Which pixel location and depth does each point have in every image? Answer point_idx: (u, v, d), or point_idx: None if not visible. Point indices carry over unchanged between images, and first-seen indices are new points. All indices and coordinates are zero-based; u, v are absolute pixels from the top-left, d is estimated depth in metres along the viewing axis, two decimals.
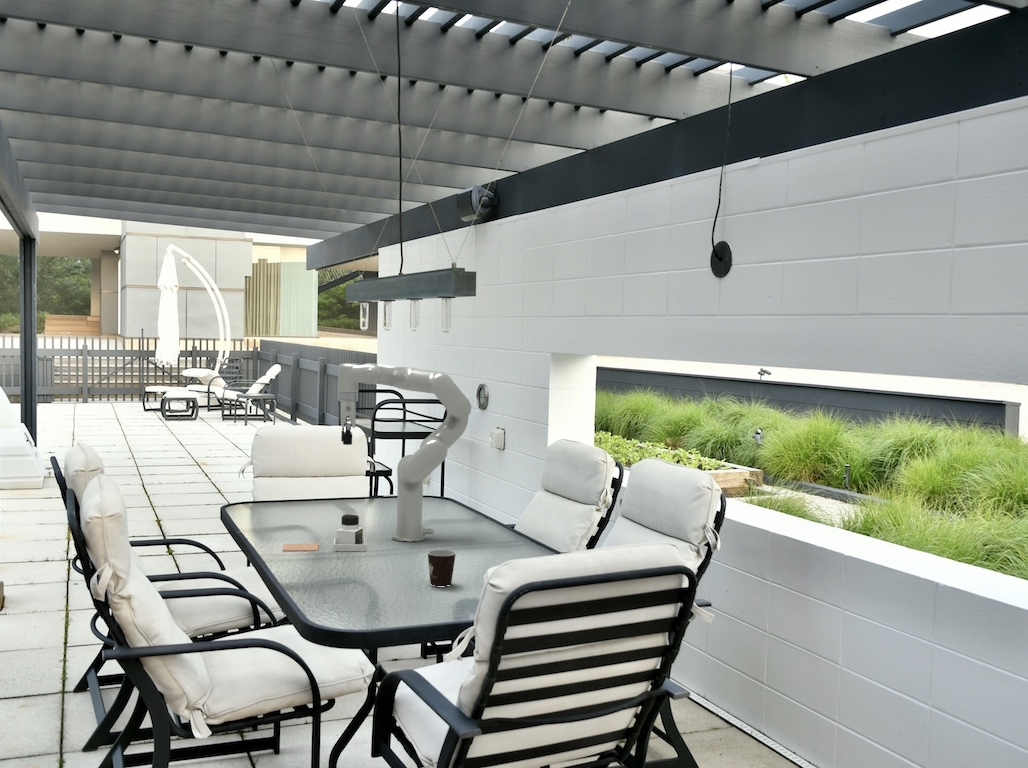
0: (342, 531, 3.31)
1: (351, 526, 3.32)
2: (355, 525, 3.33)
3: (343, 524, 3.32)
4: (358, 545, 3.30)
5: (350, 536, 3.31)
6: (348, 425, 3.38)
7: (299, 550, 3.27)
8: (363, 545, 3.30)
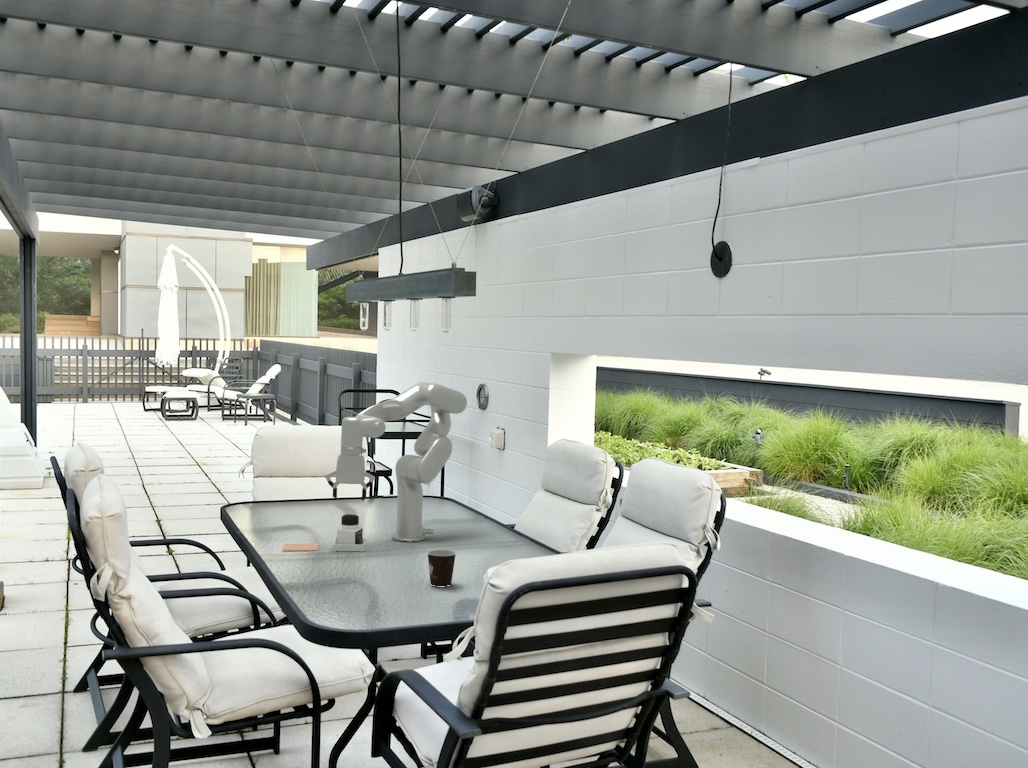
0: (342, 531, 3.31)
1: (351, 526, 3.32)
2: (355, 525, 3.33)
3: (343, 524, 3.32)
4: (358, 545, 3.30)
5: (350, 535, 3.31)
6: (373, 479, 3.35)
7: (299, 550, 3.27)
8: (363, 545, 3.30)
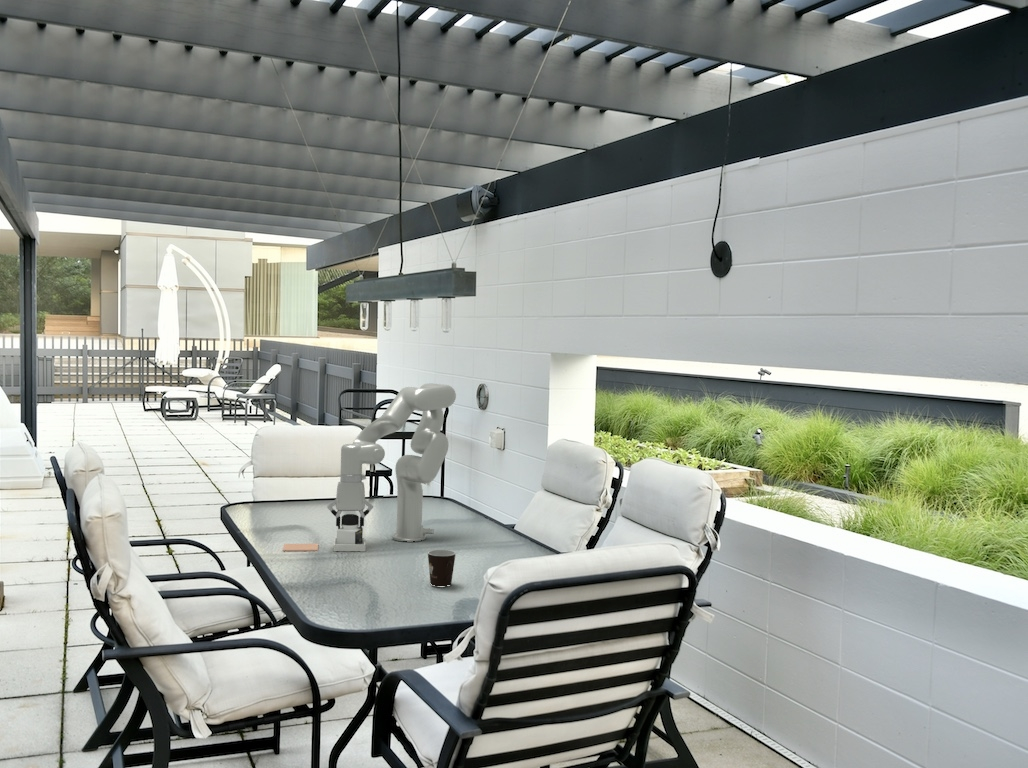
0: (342, 531, 3.31)
1: (351, 526, 3.32)
2: (355, 525, 3.33)
3: (343, 524, 3.32)
4: (358, 545, 3.30)
5: (350, 535, 3.31)
6: None
7: (299, 550, 3.27)
8: (363, 545, 3.30)
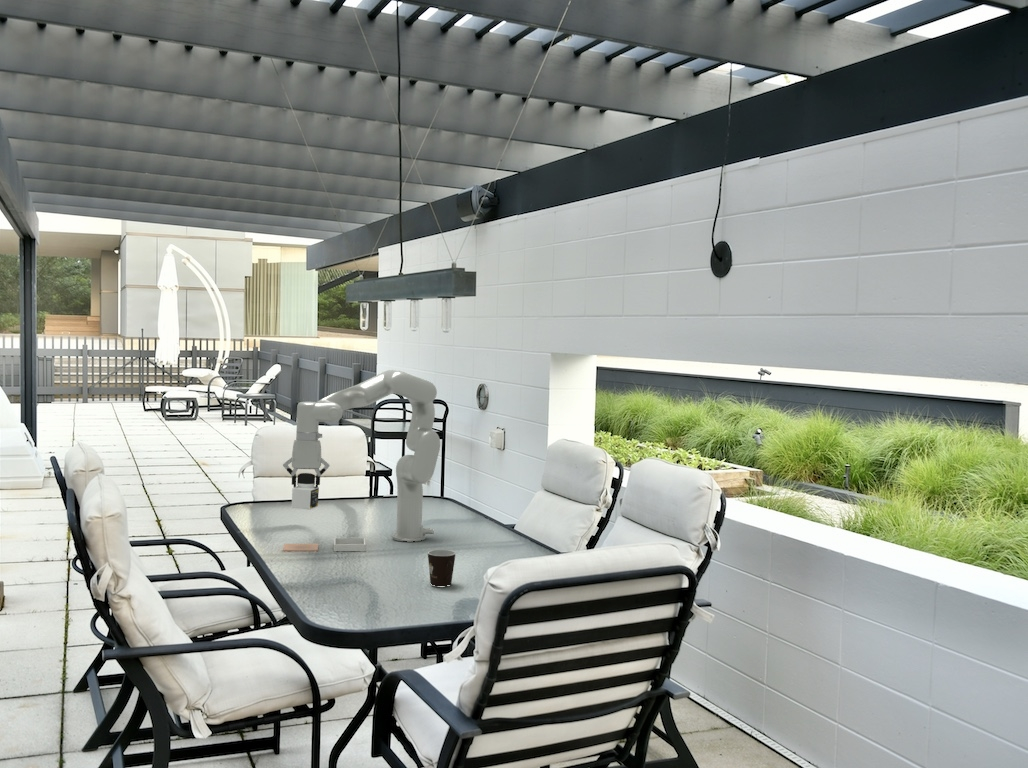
0: (298, 489, 3.28)
1: (307, 485, 3.28)
2: (311, 484, 3.29)
3: (299, 482, 3.29)
4: (358, 545, 3.30)
5: (305, 494, 3.27)
6: None
7: (299, 550, 3.27)
8: (363, 545, 3.30)
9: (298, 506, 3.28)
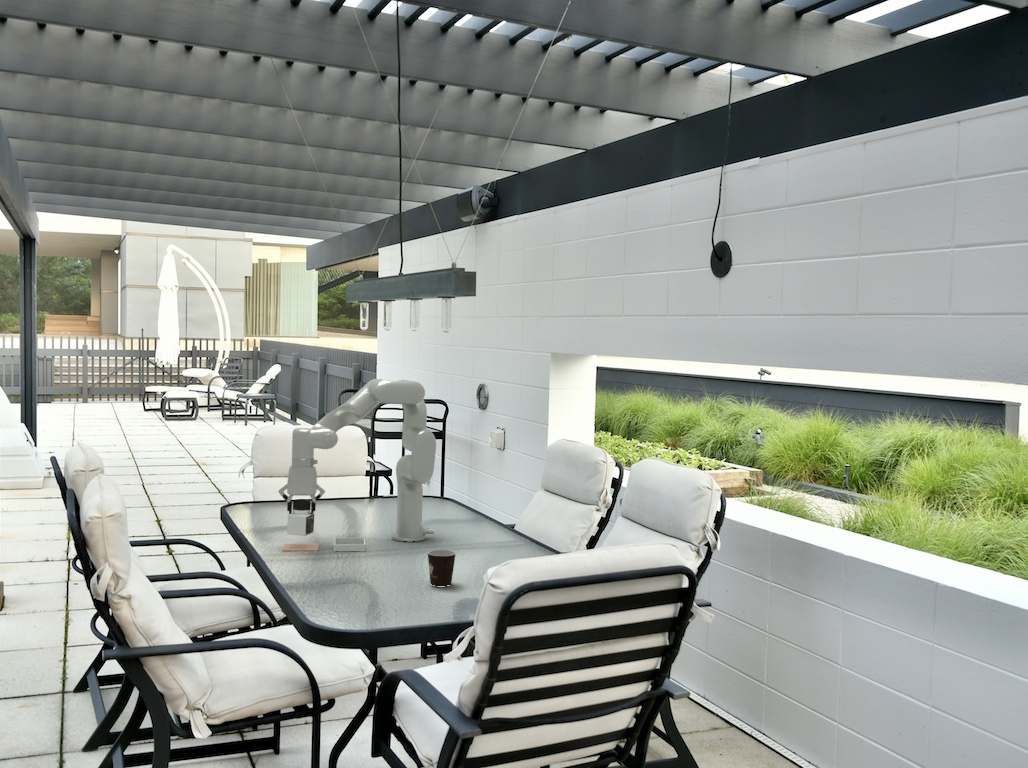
0: (293, 516, 3.28)
1: (302, 511, 3.29)
2: (306, 510, 3.29)
3: (294, 509, 3.29)
4: (358, 545, 3.30)
5: (301, 520, 3.28)
6: (323, 493, 3.32)
7: (299, 550, 3.27)
8: (363, 545, 3.30)
9: (293, 532, 3.28)
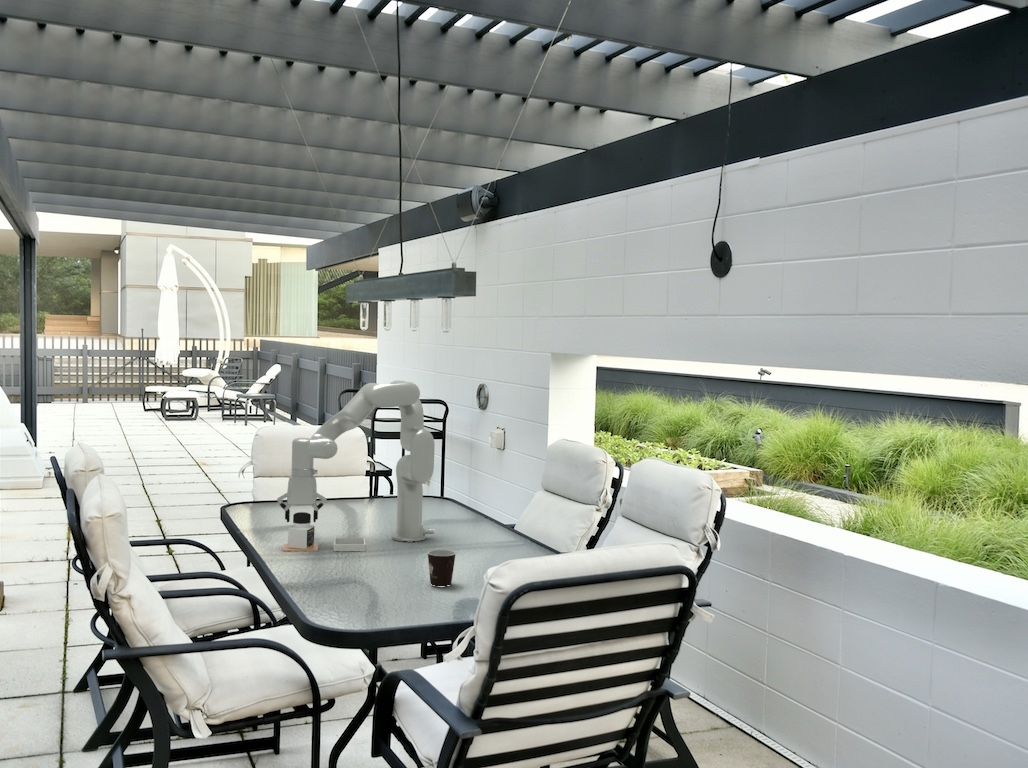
0: (294, 529, 3.28)
1: (303, 524, 3.29)
2: (307, 523, 3.30)
3: (295, 522, 3.29)
4: (358, 545, 3.30)
5: (302, 534, 3.28)
6: None
7: (299, 550, 3.27)
8: (363, 545, 3.30)
9: (294, 546, 3.29)
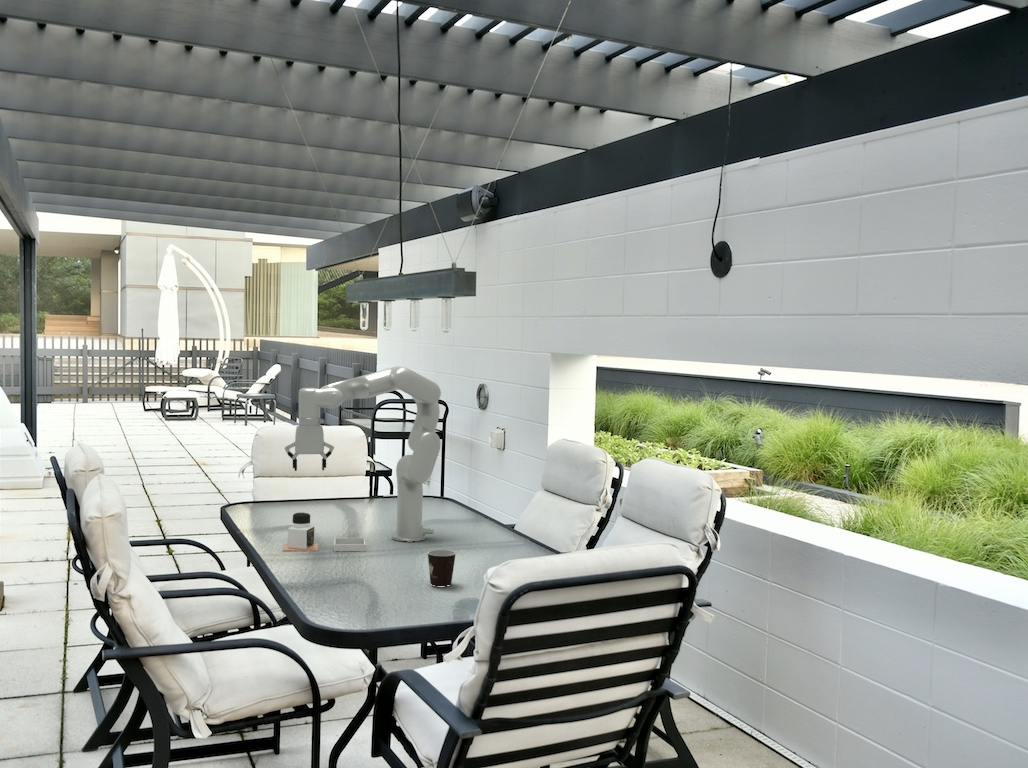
0: (293, 529, 3.28)
1: (302, 524, 3.29)
2: (307, 523, 3.30)
3: (294, 522, 3.29)
4: (358, 545, 3.30)
5: (301, 534, 3.28)
6: None
7: (299, 550, 3.27)
8: (363, 545, 3.30)
9: (294, 546, 3.29)
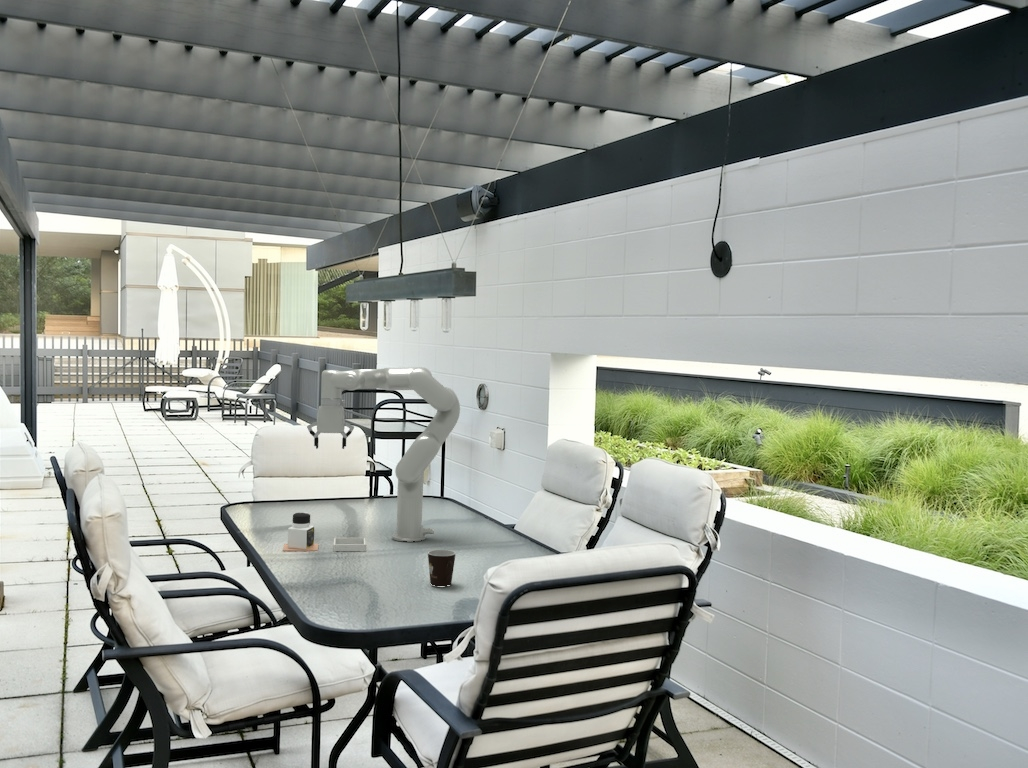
0: (293, 529, 3.28)
1: (302, 524, 3.29)
2: (307, 523, 3.30)
3: (294, 522, 3.29)
4: (358, 545, 3.30)
5: (301, 534, 3.28)
6: None
7: (299, 550, 3.27)
8: (363, 545, 3.30)
9: (294, 546, 3.29)
